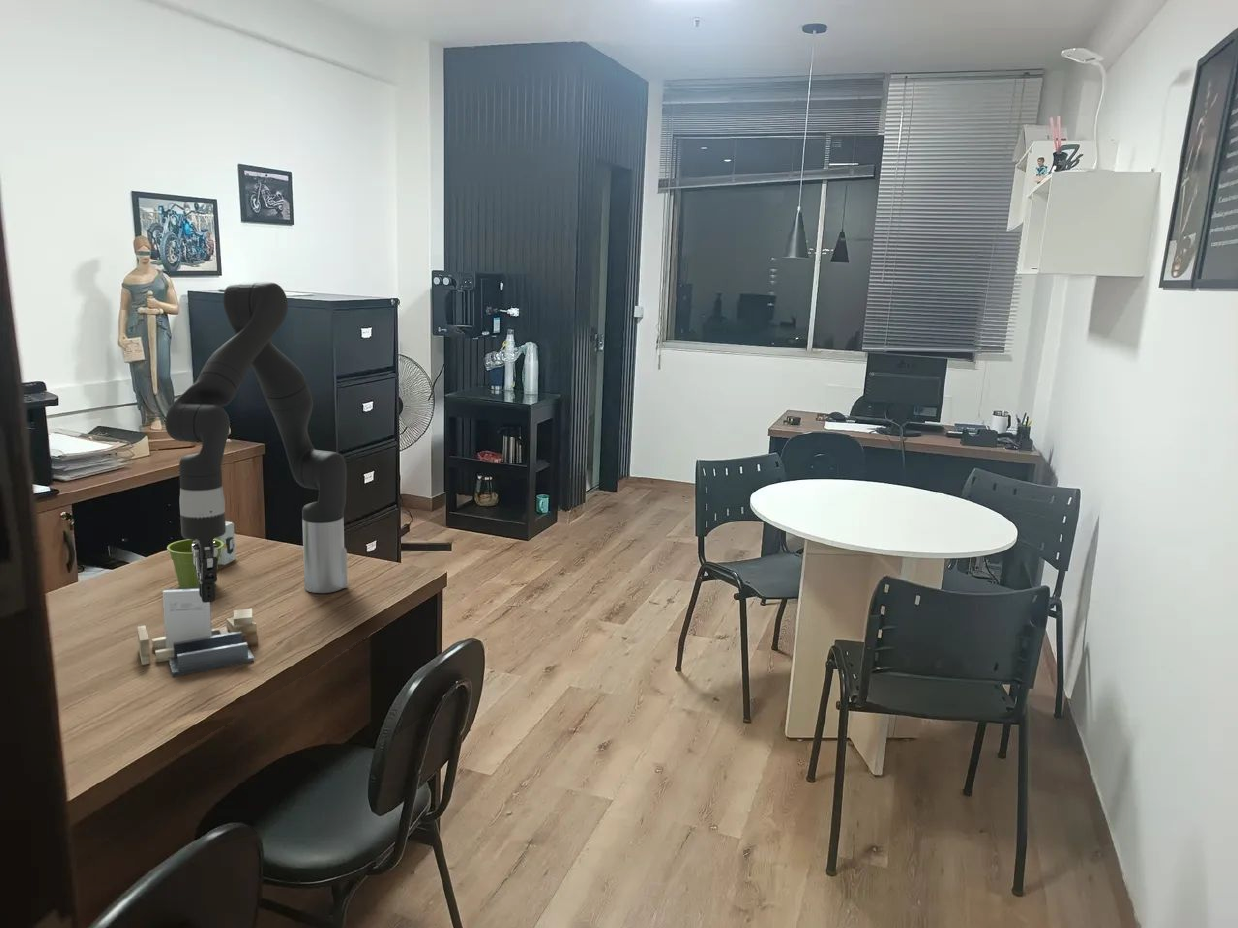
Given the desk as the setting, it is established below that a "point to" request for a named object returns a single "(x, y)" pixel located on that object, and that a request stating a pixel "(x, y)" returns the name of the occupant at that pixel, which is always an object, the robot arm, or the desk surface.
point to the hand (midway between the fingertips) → (207, 598)
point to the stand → (209, 653)
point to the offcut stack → (243, 626)
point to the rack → (161, 645)
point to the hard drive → (185, 616)
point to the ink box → (227, 545)
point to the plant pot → (187, 562)
